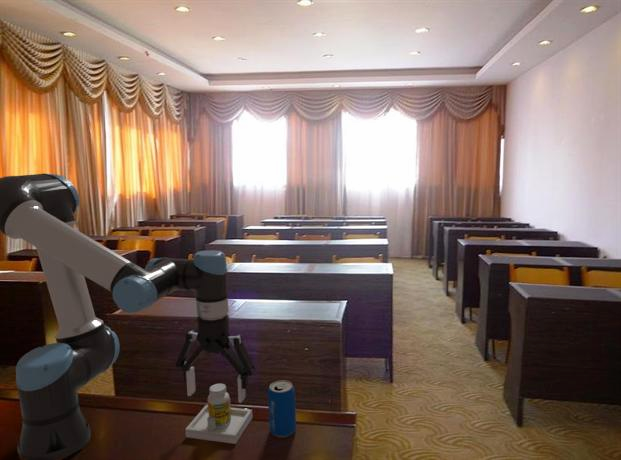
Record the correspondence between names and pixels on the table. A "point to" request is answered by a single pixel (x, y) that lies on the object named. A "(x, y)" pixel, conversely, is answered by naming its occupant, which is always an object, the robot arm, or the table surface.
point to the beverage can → (282, 408)
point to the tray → (207, 429)
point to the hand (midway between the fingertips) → (216, 396)
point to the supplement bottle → (219, 405)
